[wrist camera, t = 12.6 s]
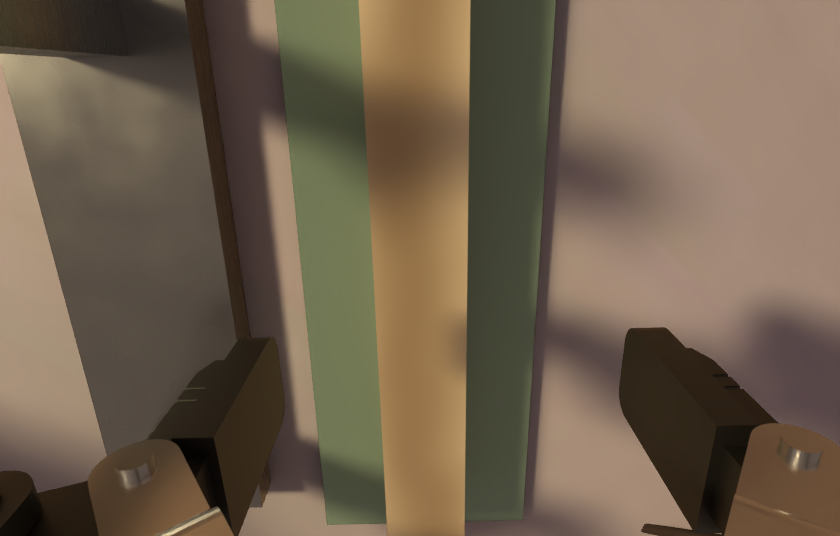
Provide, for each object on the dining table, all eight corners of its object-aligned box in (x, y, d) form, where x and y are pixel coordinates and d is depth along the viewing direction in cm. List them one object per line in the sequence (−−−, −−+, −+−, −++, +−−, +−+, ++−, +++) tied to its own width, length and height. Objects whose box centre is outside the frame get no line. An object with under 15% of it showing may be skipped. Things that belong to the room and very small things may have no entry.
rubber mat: (561, -164, 16) (566, -173, 15) (520, 510, 25) (522, 520, 24) (262, -160, 16) (257, -169, 15) (328, 514, 25) (327, 524, 24)
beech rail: (461, -91, 16) (471, -128, 13) (458, 487, 23) (464, 542, 21) (362, -89, 16) (351, -125, 13) (390, 488, 23) (387, 544, 21)
